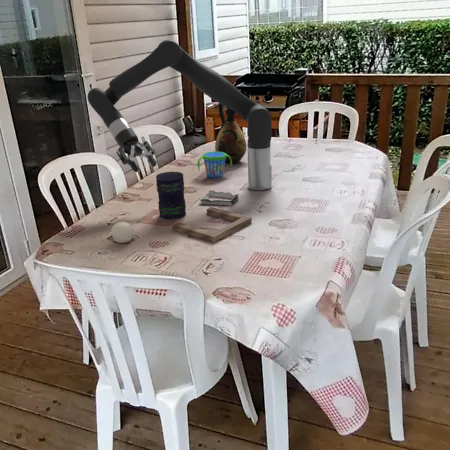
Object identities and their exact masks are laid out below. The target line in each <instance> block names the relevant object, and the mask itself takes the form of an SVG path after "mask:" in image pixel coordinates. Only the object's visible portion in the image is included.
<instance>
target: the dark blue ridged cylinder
mask: <svg viewBox="0 0 450 450" xmlns="http://www.w3.org/2000/svg"><path fill="white" fill-rule="evenodd" d="M155 179H156V183H155V184H156V191H157V195H158V211H159V212H158V213H159V217H160V219H163V220H167V221H175V220H178V219H182V218H184V217H186V215H187V212H186V210H187V209H186V207H187V206H186V205H187V204H186V199H185V191H184V190H185V181H184V173H183V172H180V171H165V172H160V173H158V174H156V175H155Z"/></svg>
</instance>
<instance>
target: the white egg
mask: <svg viewBox="0 0 450 450" xmlns="http://www.w3.org/2000/svg"><path fill="white" fill-rule="evenodd" d="M110 232H111V237H112V238H113V240H114V242H117V243H119V244H125V243H128V242H130V241H131V239H133V237H134V234H135V233H134V232H135V231H134V228H133V226H132V224H130V223H129V222H125V221H119V222H116V223H114V224H113V225H112V227H111V230H110Z"/></svg>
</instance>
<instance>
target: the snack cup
mask: <svg viewBox="0 0 450 450" xmlns="http://www.w3.org/2000/svg"><path fill="white" fill-rule="evenodd" d="M227 156H228V157H229V158H230V156H229V155H227V154H226V153H224V152H216V151H208V152H204V153H202V155H201V156H200V157H199V158H198V160H197V163H196V164H197V169H198V171H200V161H201V160H202V159H203V162H204V168H205V173H206V176H207V178H212V179H217V178H222V177H223V176H224V172H225V165H226V164H225V159H226V157H227ZM232 166H233V165H232V160H231V158H230V165H229V168H233V167H232Z"/></svg>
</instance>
